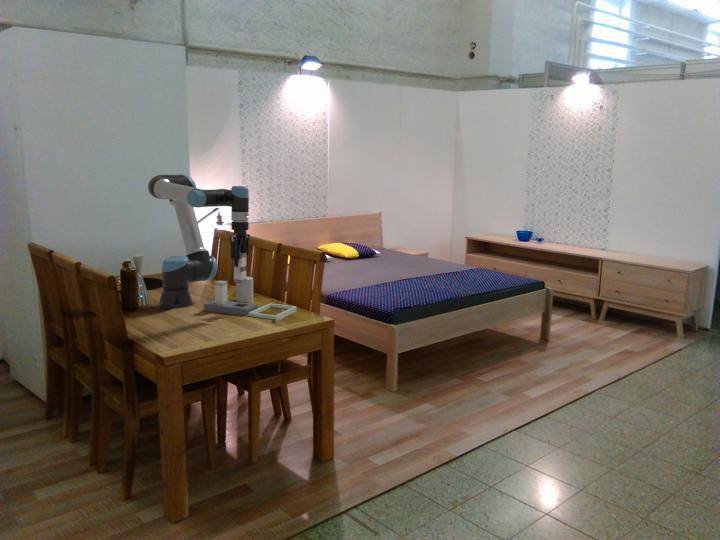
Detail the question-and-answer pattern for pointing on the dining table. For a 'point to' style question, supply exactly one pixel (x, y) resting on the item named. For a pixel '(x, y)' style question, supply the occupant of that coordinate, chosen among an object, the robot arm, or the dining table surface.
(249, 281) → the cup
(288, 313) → the pale green rectangular frame
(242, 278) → the fuse
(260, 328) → the dining table surface
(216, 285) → the cylinder
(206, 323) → the dining table surface
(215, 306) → the fuse holder
